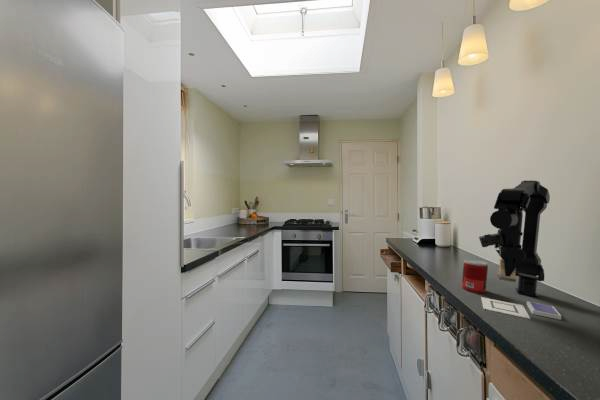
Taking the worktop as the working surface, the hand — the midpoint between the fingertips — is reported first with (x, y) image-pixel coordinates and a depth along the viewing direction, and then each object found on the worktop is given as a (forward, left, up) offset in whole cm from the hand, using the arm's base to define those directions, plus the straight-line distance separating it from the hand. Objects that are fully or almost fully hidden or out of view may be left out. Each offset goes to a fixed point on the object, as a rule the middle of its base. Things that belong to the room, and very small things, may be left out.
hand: (506, 274), depth 95 cm
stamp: (0, 0, -2) cm, 2 cm away
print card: (0, 0, -11) cm, 11 cm away
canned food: (-15, -8, -11) cm, 20 cm away
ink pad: (-4, +11, -11) cm, 16 cm away
